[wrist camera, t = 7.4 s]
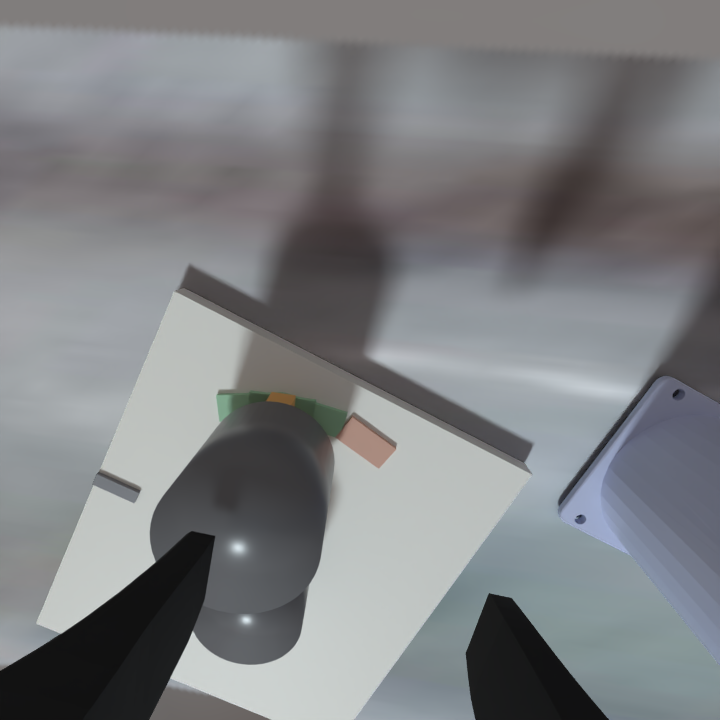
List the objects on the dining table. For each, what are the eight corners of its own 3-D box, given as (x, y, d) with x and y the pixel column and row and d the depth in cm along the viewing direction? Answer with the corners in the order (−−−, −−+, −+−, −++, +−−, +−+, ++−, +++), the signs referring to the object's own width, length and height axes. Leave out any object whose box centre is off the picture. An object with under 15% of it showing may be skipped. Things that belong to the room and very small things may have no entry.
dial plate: (524, 463, 21) (534, 476, 20) (336, 726, 26) (334, 749, 24) (184, 287, 19) (171, 291, 18) (49, 607, 24) (33, 626, 22)
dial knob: (312, 609, 21) (290, 755, 15) (207, 594, 21) (144, 736, 15) (344, 400, 18) (332, 482, 12) (223, 382, 18) (151, 455, 12)
